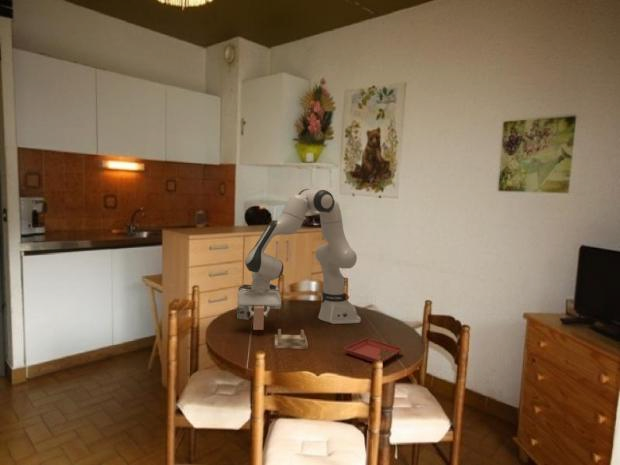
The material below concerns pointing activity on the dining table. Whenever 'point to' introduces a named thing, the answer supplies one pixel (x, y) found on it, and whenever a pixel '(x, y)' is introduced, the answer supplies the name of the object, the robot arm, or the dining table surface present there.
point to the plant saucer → (371, 349)
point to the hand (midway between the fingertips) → (258, 316)
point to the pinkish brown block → (258, 318)
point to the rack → (291, 341)
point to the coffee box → (244, 312)
